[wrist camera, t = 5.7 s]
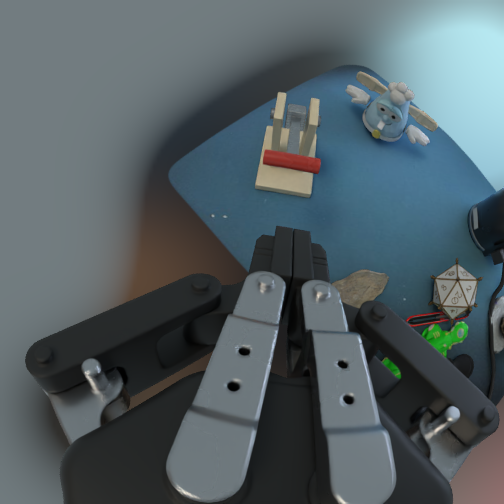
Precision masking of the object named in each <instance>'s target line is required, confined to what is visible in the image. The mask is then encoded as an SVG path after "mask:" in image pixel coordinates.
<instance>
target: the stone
mask: <svg viewBox="0 0 504 504" xmlns="http://www.w3.org/2000/svg"><path fill="white" fill-rule="evenodd" d="M388 279H389V277H388V276H387V275H386V274H384V273H376V272H373V271H370V270H360V271H357V272H355V273H352V274H351V275H349V276H348V277H346V278H345V279H343V280H340V281H335V282H334V283H332V284H331V285H333V286H334V287H335V288H336V289H337V290H338V291H339V294H340V297H341V301H342V302H344V303H346V304H348V305H351V306H354V307H356V308H359V309H360V306H361V305H362V303H364V302H366V301H373V300H374V299H375V298H376V297H377V296H378V295H379V294H381V293H382V292H383V290H384V288H385V285H386V284H387V282H388Z"/></svg>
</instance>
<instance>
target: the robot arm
mask: <svg viewBox="0 0 504 504" xmlns="http://www.w3.org/2000/svg"><path fill="white" fill-rule="evenodd" d="M468 225H469V230H470V234H471V236H472V239H473V241H474V242H475V244H476V245H477V247H478V248H479V249H480V250H482V251H483V254H484V256H488V255H491V256H492V259H493V262H494V265H496V264H499V263H503V271H502V278H501V282H500V284H499V286H498V288H497V289H496V290H495V292H494V293H493V295H492V298H491V302H490V307H489V309H490V316H491V317H492V314H493V313H492V312H493V307H494V302H495V298H496V296H497V294H498V293H499V292H500V291H501V289H502V287H503V285H504V188H502V189H501V190H499V191H498V192H496V193H494V194H493V195H491V196H490V197H488V198H486V199H485V200H483V201H481V202H480V203H478V204H476V205H474V206H473V207H472V208H471V209H470V212H469V216H468ZM327 265H328V264H327V257H326V251H325V250H324V249H323V248H322V246H321V245H320V244H315V243H311V234H310V231H304V230H298V229H294V230H293V228H287V227H281V226H276V231H275V237H274V236H268V235H262V236H261V237H259V238H258V239H257V241H256V245H255V249H254V253H253V257H252V261H251V265H250V270H249V274H248V276H247V278H246V279H245V280H244V281H242V282H240V283H237V284H234V285H221V283H220V281H219V280H218V279H217V278H215V277H213V276H211V275H208V274H192V275H189V276H187V277H184V278H182V279H180V280H178V281H175V282H173V283H171V284H168V285H166V286H164V287H161V288H159V289H157V290H154V291H152V292H150V293H147V294H145V295H143V296H140V297H138V298H136V299H133V300H131V301H129V302H126V303H124V304H122V305H119V306H117V307H115V308H113V309H110V310H108V311H106V312H103V313H101V314H99V315H96V316H94V317H92V318H89V319H87V320H85V321H82V322H80V323H78V324H76V325H73V326H71V327H69V328H67V329H64V330H62V331H59V332H58V333H55V334H53V335H50V336H48V337H46V338H43V339H41V340H39V341H37V342H36V343H34V344H33V345H32V346H31V347H30V348H29V350H28V352H27V354H26V359H25V362H26V367H27V369H28V370H29V372H30V373H31V375H32V376H33V377H34V379H35V380H36V381H37V383H38V384H39V385H40V387H41V388H42V389H43V390H44V391H45V393H46V394H47V395H48V396H49V398H50V401H51V403H52V406H53V408H54V410H55V413H56V415H57V418H58V420H59V422H60V424H61V427H62V429H63V431H64V433H65V435H66V437H67V439H68V441H69V443H70V446H69V447H68V448H67V450H66V452H65V454H64V455H63V458H62V461H61V466H60V479H61V485H62V491H63V499H64V504H453V494H452V489H451V487H450V484H449V482H450V481H451V480H452V478H453V477H454V476H455V474H456V473H457V471H458V470H459V468H460V467H461V465H462V464H463V462H464V461H465V459H466V458H467V456H468V455H469V453H470V452H471V450H472V449H473V448H474V447H476V446H477V445H478V444H479V443H480V442H481V441H483V440H484V439H485V438H487V437H488V436H490V435H491V434H492V433H494V432H495V431H496V429H497V428H498V425H499V413H498V411H497V408H496V407H495V405H494V404H493V403H492V402H491V398H492V393H493V388H494V382H495V371H496V365H495V353H494V336H493V323H491V321H490V318H489V334H490V354H491V364H492V374H491V384H490V390H489V394H488V398H487V397H486V396H485V395H484V394H483V393H482V392H481V391H480V390H479V389H478V388H477V387H476V386H475V385H474V384H473V383H472V382H471V381H470V380H469V379H468V378H467V377H466V376H465V375H463V374H462V373H461V372H460V371H459V370H458V369H457V368H456V367H455V366H454V365H453V364H452V363H451V362H450V361H449V360H448V359H446V358H445V357H444V356H443V355H442V354H441V353H440V352H439V351H438V350H437V349H436V348H434V347H433V346H432V345H431V344H430V343H429V342H428V341H427V340H426V339H425V338H423V337H422V336H421V335H420V334H419V333H418V332H417V331H416V330H414V329H413V328H412V327H411V326H410V325H409V324H408V323H407V322H405V321H404V320H403V319H402V318H401V317H400V316H398V315H397V314H396V313H395V312H394V311H393V310H392V309H390V308H389V307H388V306H387V305H385V304H383V303H381V302H378V301H366V302H364V303H362V305H361V306H360V309H359V308H356V307H354V306H351V305H348V304H346V303H344V302H342V301H341V297H340V294H339V291H338V290H337V289H336V288H335V287H334V286H333V285H331V284H330V277H329V270H328V266H327ZM281 316H282V321H281V324H284V325H288V330H287V333H288V336H287V340H286V348H287V349H286V350H287V378H285V377H282V376H279V375H277V374H274V373H271V372H270V368H271V363H272V358H273V353H274V349H275V344H276V339H277V334H278V329H279V323H280V320H281ZM378 349H379V350H380V351H381V352H382V353H383V354H384V355H385V356H386V357H387V358H388V359H389V360H390V361H391V362H392V363H393V364H395V365H396V366H397V367H398V369H399V370H400V373H401V378H400V379H399V378H397V377H396V376H395V375H394V374H393V373H392V372H391V371H390V370H389V369H388V368H387V367H386V366H385V365H384V364H383V363H382V362H381V361H380V360H379V359H378V358H377V357H376V356H375V354H376V352H377V351H378ZM213 350H214V351H213ZM212 351H213V354H212V356H211V359H210V361H209V364H208V367H207V369H206V370H205V371H200V372H197V373H194V374H191V375H188V376H186V377H184V378H182V379H180V380H179V381H177V382H176V383H174V384H172V385H171V386H169V387H168V388H166V389H164V390H163V391H161V392H159V393H158V394H156V395H155V396H153V397H151V398H149V399H148V400H146V401H144V402H143V403H141V404H139V405H138V406H136V407H134V408H132V409H131V410H129V411H127V409H128V408H129V405H130V397H132V396H134V395H136V394H138V393H140V392H142V391H143V390H145V389H147V388H149V387H151V386H153V385H155V384H156V383H158V382H160V381H162V380H164V379H165V378H167V377H169V376H171V375H173V374H174V373H176V372H178V371H180V370H181V369H183V368H185V367H186V366H188V365H190V364H192V363H193V362H195V361H197V360H199V359H200V358H202V357H204V356H205V355H207V354H209V353H210V352H212ZM126 411H127V412H126Z"/></svg>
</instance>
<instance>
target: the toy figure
mask: <svg viewBox="0 0 504 504" xmlns="http://www.w3.org/2000/svg"><path fill="white" fill-rule="evenodd" d="M357 80H358V81H359V82H360V83H361V84H363V85H364V86H366V87H367V88H369V90H371V91H375V92H377V93H379V94H381V96H379V97H378V98H376V99H375V100H374V101H373V102H371V103H370V104H369V105H368V106H367V108H368V109H367V108H366V109H367V111H366V109H365V111H366V114H365V111H364V113H363V122H364V124H365V126H366V128H367V129H368V130H369V131H370V132H371V133H372V136H373V137H375V138H377V139H378V138H380V139H382V140H385V141H388V142H393V141H397V140H398V139H399V138H401V136H402V135H403V133H404V131H405V129H406V122H407V118H408V113H409V114H410V115H411V116H412V117H413V118H414V119H415V120H416V122H418V123H419V124H421V125H422V126H424V127H425V128H427V129H428V130H430V131H432V132H433V131H435V130H436V129H437V127H438V125H437V123H436V122H435V121H434V120H433V119H432V118H431V117H430V116H428V115H427V114H426V113H425V112H424V111H421V110H419V109H417V108H416V107H414V106H412V105H410V101H412V100H413V99H414V93H413V92H412V91H411V90H409V89H408V87H407V85H405V84H404V83H402V82H399V83H395V82H392V83H390V84H389V86H388V89H387V88H386V87H385V86H384V85H382V84H381V83H380V82H379V81H378V80H377V79H376V78H373V77H371V76H369V75H368V74H366V73H364V72H359V73H358V74H357ZM346 93H348V94H349V95H350V96H352V97H353V98H352V102H353V103H357V104H364V105H366V104H367V103H368V102H369V100H370V96H369V95H368V94H367V93H366V92H364V91H363V90H361V89H359V88H357V87H354V86H352V85H348V86H347V89H346ZM403 129H404V130H403ZM402 131H403V133H402ZM401 133H402V135H400V134H401ZM405 133H406V134H407V136H408V138H409V140H410V142H411V143H412V144H415V143H416V142H418V143H420V144H421V145H423V146H426V144H428V143H429V139H428V137H427V136H426V135H425V134H424V133H423V132H422V131H421V130H419V129H418V128H417V127H414V126H412V125H409V126H408V127H407V129H406V131H405ZM399 135H400V136H399ZM398 136H399V137H398Z"/></svg>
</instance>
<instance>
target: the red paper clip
mask: <svg viewBox="0 0 504 504" xmlns="http://www.w3.org/2000/svg"><path fill="white" fill-rule="evenodd" d="M470 312H471V311H469V310H466V311H465V312H463V313H462V314H466V315H465V316H464V317H460V318H457V317H456V318H455V320H458V319H464V318H466V317H468V316H469V313H470ZM437 315H438V316H437ZM435 316H437V317H435ZM429 317H435V318H439V319H432V320H426V321H420V322H407V321H413V320H415V319H422V318H429ZM443 321H450V318H449V317H448V316H447V315H446V314H445V313H444V312H443V311H442V312H436V313H429V314H422V315H415V316H411V317H409V318H408V319H407V320H406V322H407V323H408V324H409V325H410V326H420V325H426V324H432V323H438V322H443Z"/></svg>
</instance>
